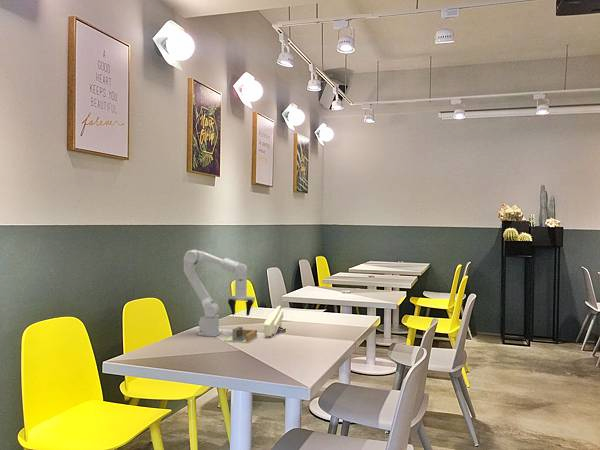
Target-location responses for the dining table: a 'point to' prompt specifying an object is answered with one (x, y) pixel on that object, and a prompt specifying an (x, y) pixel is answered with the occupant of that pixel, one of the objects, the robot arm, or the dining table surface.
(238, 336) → the angle bracket
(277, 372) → the dining table surface
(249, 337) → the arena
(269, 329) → the shelf bracket
